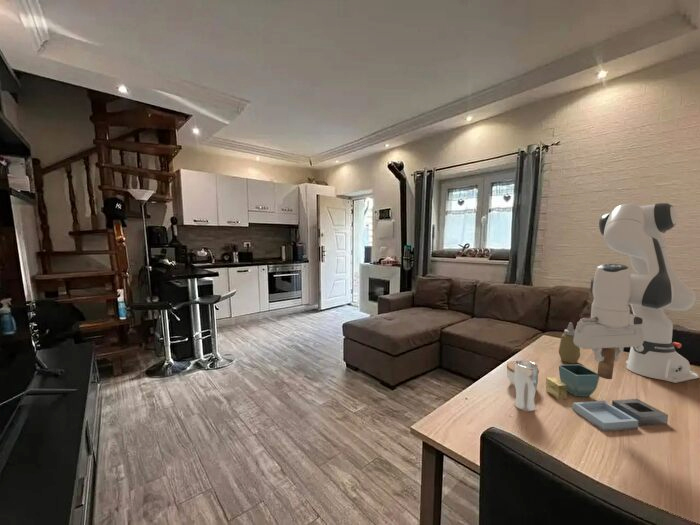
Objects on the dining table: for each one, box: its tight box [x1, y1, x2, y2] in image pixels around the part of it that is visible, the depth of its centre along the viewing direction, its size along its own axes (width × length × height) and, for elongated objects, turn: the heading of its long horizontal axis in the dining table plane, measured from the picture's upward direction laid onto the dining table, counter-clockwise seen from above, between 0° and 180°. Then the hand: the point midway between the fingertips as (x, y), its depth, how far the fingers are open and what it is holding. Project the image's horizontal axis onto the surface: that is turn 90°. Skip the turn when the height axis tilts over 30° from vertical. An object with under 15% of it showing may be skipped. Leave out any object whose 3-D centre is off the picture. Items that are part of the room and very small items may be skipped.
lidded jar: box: [506, 360, 540, 388], centre depth 114 cm, size 11×11×9 cm
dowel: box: [596, 348, 616, 380], centre depth 92 cm, size 4×4×10 cm
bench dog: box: [545, 376, 567, 400], centre depth 108 cm, size 3×6×5 cm, turn 5°
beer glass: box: [514, 359, 539, 413], centre depth 100 cm, size 7×7×15 cm
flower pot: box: [558, 364, 600, 397], centre depth 109 cm, size 9×9×9 cm
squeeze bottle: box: [558, 322, 581, 364], centre depth 136 cm, size 8×8×18 cm
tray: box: [572, 400, 639, 432], centre depth 94 cm, size 11×11×2 cm
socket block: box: [611, 398, 669, 427], centre depth 95 cm, size 9×9×3 cm
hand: (606, 360), depth 92 cm, fingers closed on dowel, 4 cm apart
